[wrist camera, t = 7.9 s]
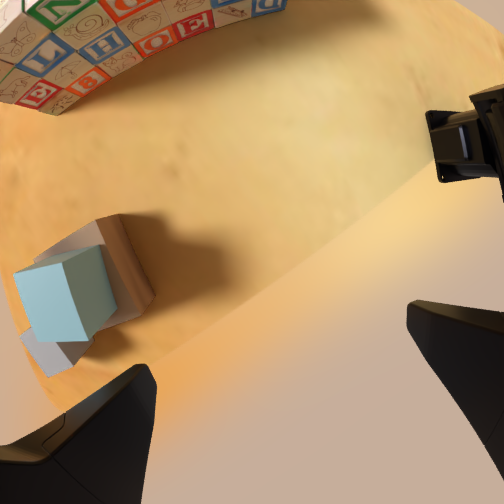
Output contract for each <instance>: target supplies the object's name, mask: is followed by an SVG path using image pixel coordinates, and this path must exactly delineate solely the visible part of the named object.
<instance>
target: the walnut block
mask: <svg viewBox="0 0 504 504" xmlns="http://www.w3.org/2000/svg"><path fill="white" fill-rule="evenodd" d="M95 245H99V246H100V250H101V254H102V258H103V261H104V265H105V269H106V272H107V276H108V279H109V283H110V286H111V289H112V293H113V296H114V299H115V302H116V305H117V308H118V309H117V310H116V311H115V312H114V313H113V314H112V315H111V316H110V317H109V318H108V320H107V321H106V322H105V323H104V324H103V325H102V326H101V327H100V329H99V330H98V331H101V330H103V329H106V328H109V327H112V326H114V325H117V324H120V323H123V322H126V321H128V320H131V319H134V318H136V317H139V316H141V315H142V314H143V313H144V311H145V310H146V308H147V307H148V306H149V304H150V303H151V301H152V300H153V299H154V297H155V296H156V295H155V293H154V291H153V289H152V287H151V285H150V283H149V281H148V279H147V277H146V275H145V273H144V271H143V269H142V267H141V264H140V262H139V260H138V258H137V256H136V254H135V252H134V249H133V247H132V245H131V243H130V241H129V238H128V236H127V234H126V231H125V229H124V227H123V224H122V222H121V220H120V217H119V215H118V214H115V215H111V216H108V217H104V218H100V219H97V220H94V221H92V222H91V223H89V224H87V225H86V226H84V227H82V228H81V229H79V230H77V231H76V232H74V233H72V234H71V235H69V236H68V237H66V238H64V239H63V240H61V241H60V242H58V243H57V244H55V245H54V246H52V247H51V248H49V249H47V250H46V251H44V252H43V253H42V254H40V255H39V256H37V257H36V258H34V259H33V260H34V263H37V262H39V261H41V260H44V259H46V258H48V257H50V256H53V255H57V254H61V253H65V252H69V251H73V250H78V249H82V248H86V247H90V246H95ZM98 331H97V332H98Z"/></svg>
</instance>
